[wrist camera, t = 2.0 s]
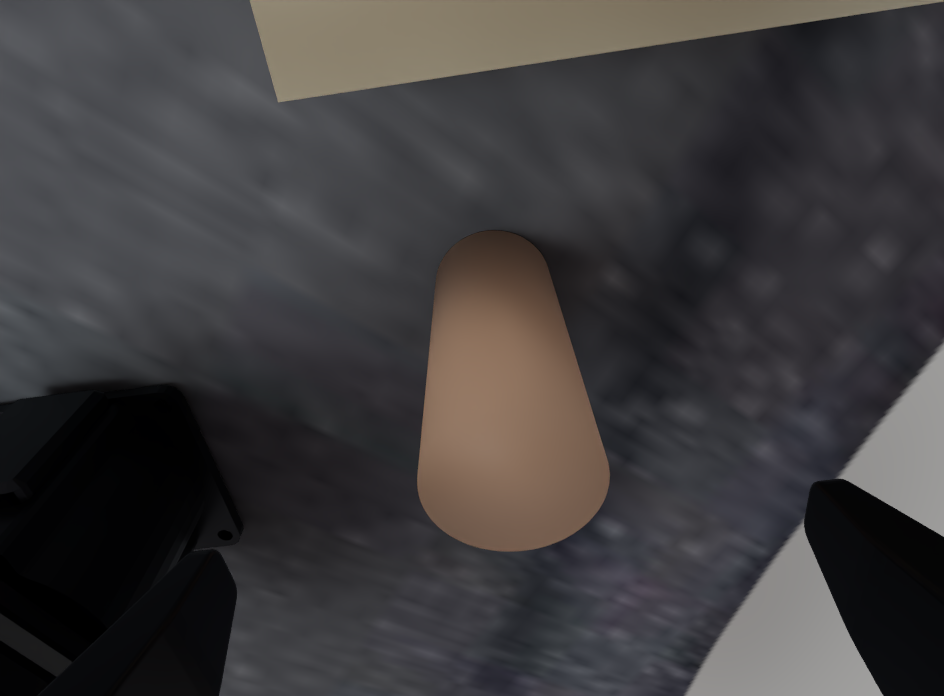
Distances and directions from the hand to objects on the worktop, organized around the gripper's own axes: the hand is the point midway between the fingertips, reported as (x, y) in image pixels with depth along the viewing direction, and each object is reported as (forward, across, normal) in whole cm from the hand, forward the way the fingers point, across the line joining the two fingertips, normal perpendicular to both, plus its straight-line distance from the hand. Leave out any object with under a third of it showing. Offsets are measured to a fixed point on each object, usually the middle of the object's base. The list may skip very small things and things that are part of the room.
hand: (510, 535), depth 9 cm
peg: (+9, 0, 0) cm, 9 cm away
